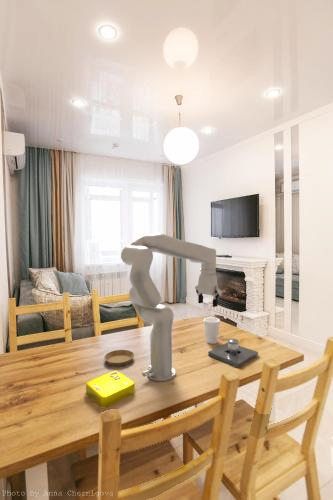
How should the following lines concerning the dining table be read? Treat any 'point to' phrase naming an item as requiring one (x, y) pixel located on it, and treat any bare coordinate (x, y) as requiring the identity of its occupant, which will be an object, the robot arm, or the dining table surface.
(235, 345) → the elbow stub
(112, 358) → the plant saucer
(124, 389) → the element tile
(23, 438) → the dining table surface
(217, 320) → the foam cup
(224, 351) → the flange
